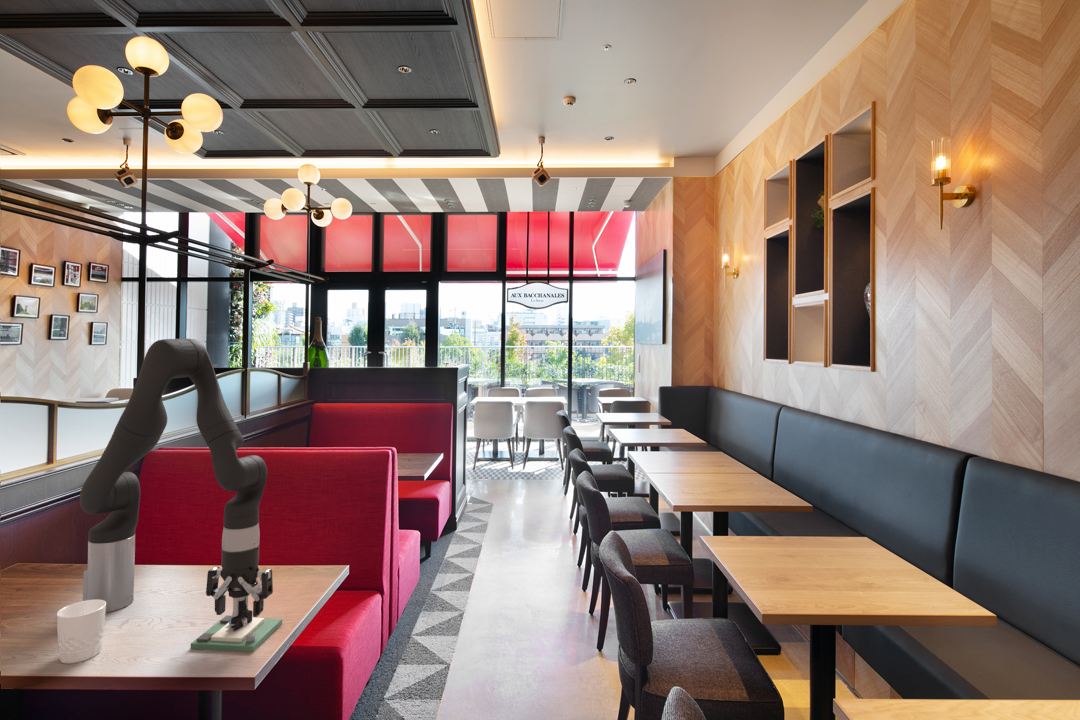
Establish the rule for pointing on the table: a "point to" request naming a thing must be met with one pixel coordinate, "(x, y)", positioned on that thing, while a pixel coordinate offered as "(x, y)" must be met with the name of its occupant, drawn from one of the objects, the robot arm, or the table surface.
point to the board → (237, 635)
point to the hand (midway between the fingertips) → (239, 614)
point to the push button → (239, 609)
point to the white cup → (80, 630)
